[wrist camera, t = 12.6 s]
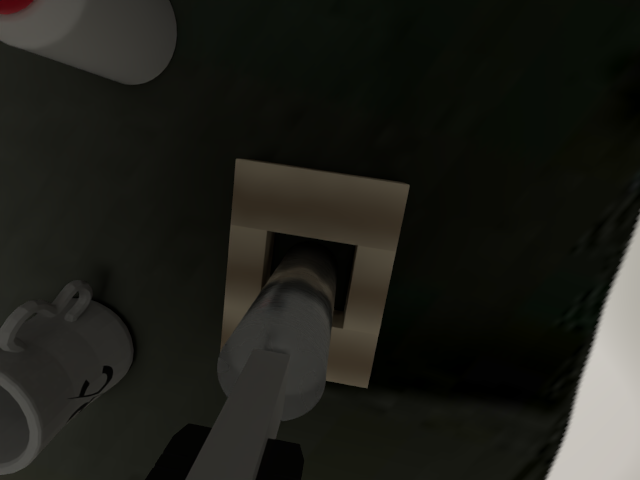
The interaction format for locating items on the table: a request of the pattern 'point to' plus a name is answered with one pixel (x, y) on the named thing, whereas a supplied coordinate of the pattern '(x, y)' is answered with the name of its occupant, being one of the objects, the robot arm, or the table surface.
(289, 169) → the jig
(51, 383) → the mug
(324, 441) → the table surface
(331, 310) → the grey cylindrical peg
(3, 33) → the pill bottle
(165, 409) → the table surface
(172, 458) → the robot arm
